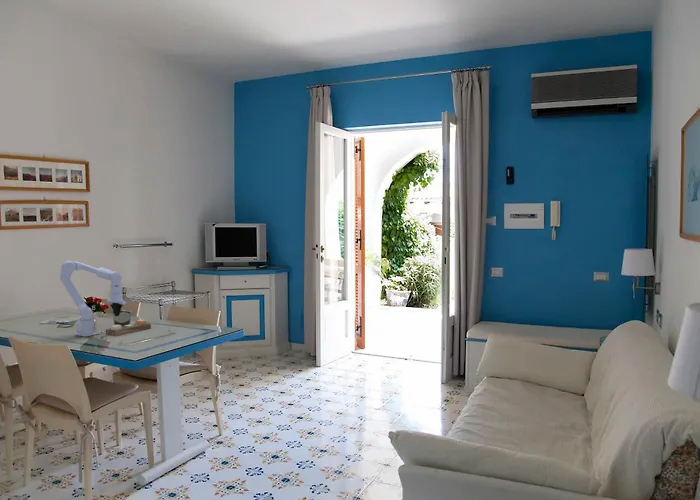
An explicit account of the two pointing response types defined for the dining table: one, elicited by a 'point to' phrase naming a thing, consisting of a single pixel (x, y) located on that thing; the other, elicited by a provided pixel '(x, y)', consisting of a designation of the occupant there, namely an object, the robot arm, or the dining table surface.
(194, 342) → the dining table surface
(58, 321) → the dining table surface
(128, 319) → the food container
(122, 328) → the button panel
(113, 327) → the cream button
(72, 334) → the dining table surface
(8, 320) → the dining table surface
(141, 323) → the terracotta button
